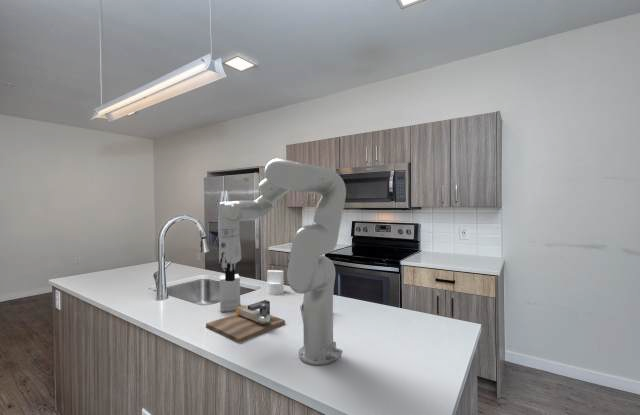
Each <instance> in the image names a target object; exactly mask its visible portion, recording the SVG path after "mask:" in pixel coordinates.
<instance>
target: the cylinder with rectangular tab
mask: <svg viewBox="0 0 640 415" xmlns="http://www.w3.org/2000/svg"><path fill="white" fill-rule="evenodd" d="M284 284H285V282H284V270H277V269H274V270H273V269H268V270H267V271H266V294H267V293H268V294H267V295H269V294H270V296H279V295H283V294H284V291H285V288H284V287H285V286H284Z"/></svg>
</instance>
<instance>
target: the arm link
mask: <svg viewBox="0 0 640 415" xmlns="http://www.w3.org/2000/svg"><path fill="white" fill-rule="evenodd" d="M260 307H261V308H262V313H261V312H258V311H259V310H257V311H255V310H254V311H251V310H248V306H244V305H240V307H237V308H236V310H235V314H238V315H241V316H244V317H246V318H249V319H251V320H254V321H256V322H259V324H261V325H266V324H269V323H270V315H271V314H270V315H269V314H267V307H269V304H268V303H263V304H261V305H260Z"/></svg>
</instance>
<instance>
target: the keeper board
mask: <svg viewBox="0 0 640 415" xmlns="http://www.w3.org/2000/svg"><path fill="white" fill-rule="evenodd" d="M270 302H271V301H270V300H267V299H264V300H261V301H258V302H255V303H251V304H248V305H247V308H248V310H251V311H254V310H255V311H258V312H261V313H262V308H261V307H260V305H261V304H263V303H268V304H269V307H267V314H269V315H270V323H269V324H266V325H261V324H259V322H256V321H254V320H251V319H249V318H246V317H244V316H241V315H238V314H236V313H233V314H231V315H227V316H224V317H222V318H218V319H215V320H212V321H210V322H206V323H205V327H206V328H207V329H208V330H211V331H213V332H215V333H217V334H219V335H221V336H224V337H225V338H228V339H230V340H232V341H233V342H235V343H238V344H241V343H244V342H246V341H248V340H250V339H252V338H255V337H257V336H260V335H262V334H265V333H266V332H269V331H271V330H273V329H276V328H279V327H281V326H283V325H285V324H286V320H285V319H283V318H279V317H277V316H275V315H271V305H270V304H271V303H270ZM258 309H259V310H258Z"/></svg>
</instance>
